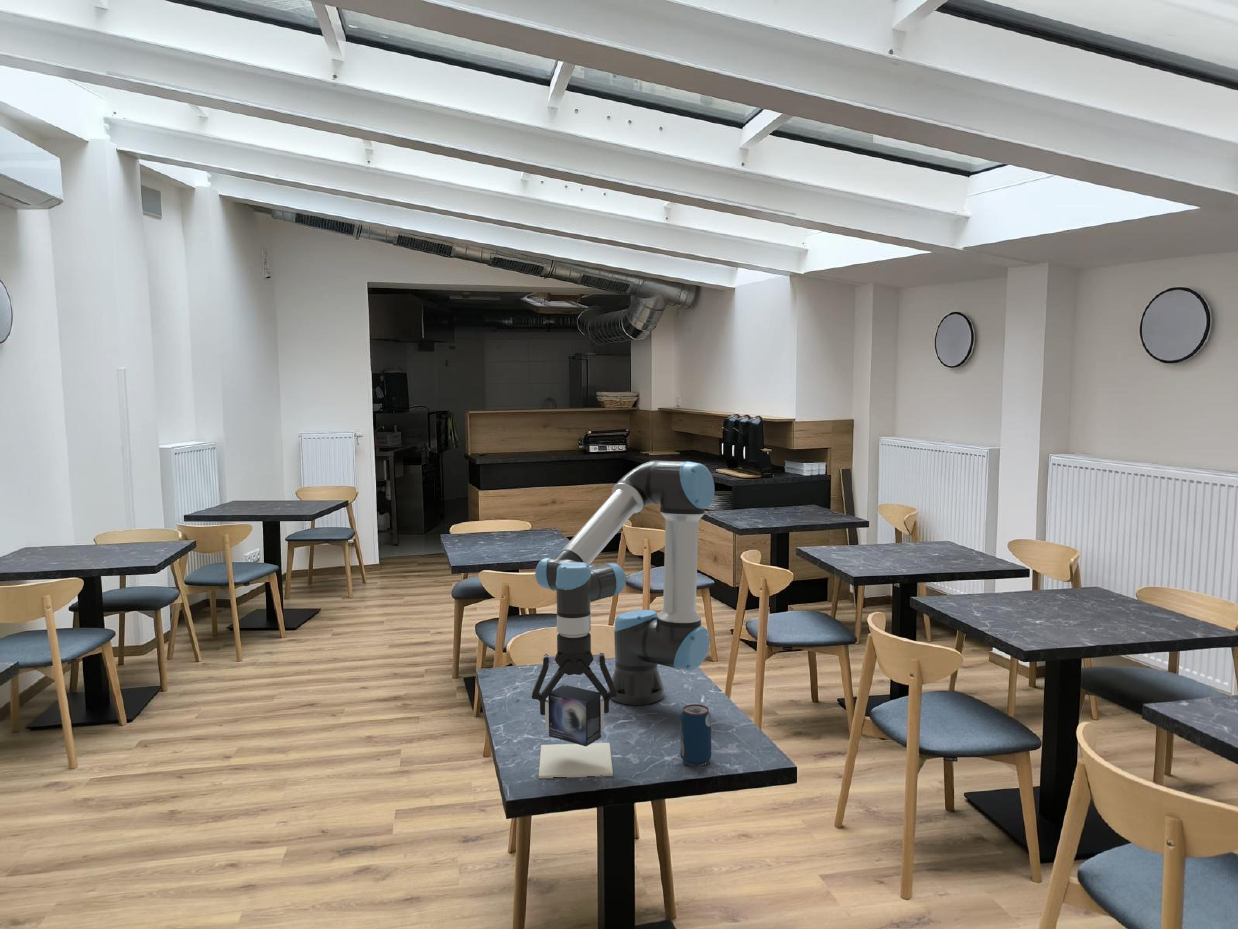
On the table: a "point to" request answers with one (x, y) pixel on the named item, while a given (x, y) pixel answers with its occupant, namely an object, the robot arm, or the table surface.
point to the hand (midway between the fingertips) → (574, 727)
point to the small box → (574, 715)
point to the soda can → (695, 734)
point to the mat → (575, 760)
